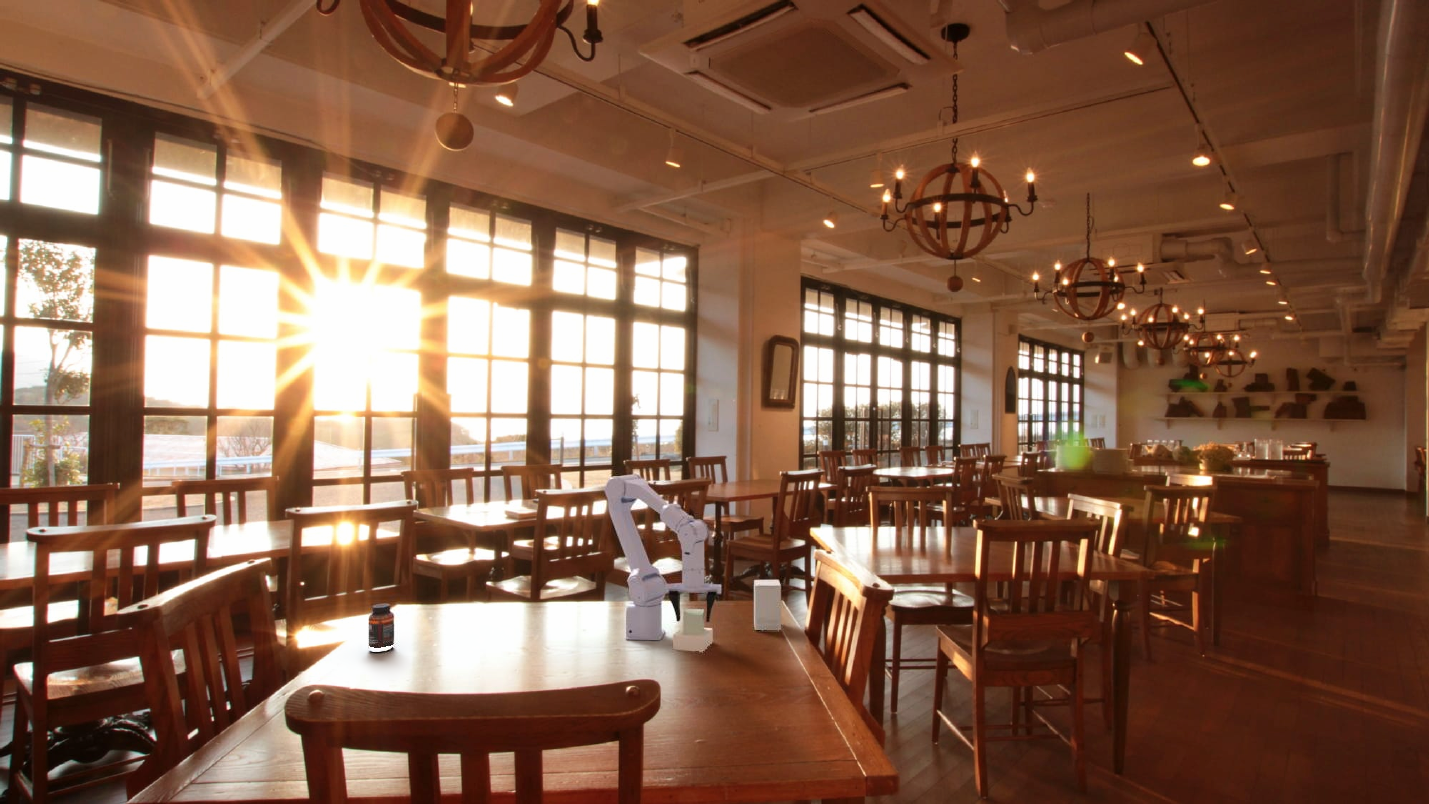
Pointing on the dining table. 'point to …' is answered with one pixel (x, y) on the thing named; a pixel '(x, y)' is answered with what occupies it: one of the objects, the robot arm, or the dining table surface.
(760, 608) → the supplement box
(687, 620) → the sage block
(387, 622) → the supplement bottle
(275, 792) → the dining table surface
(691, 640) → the cream block
